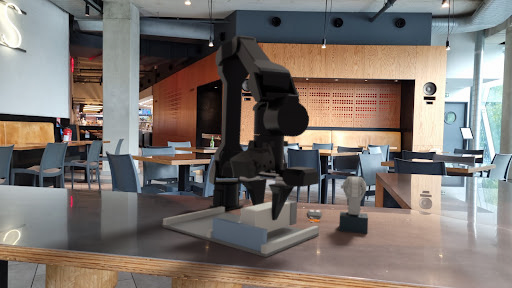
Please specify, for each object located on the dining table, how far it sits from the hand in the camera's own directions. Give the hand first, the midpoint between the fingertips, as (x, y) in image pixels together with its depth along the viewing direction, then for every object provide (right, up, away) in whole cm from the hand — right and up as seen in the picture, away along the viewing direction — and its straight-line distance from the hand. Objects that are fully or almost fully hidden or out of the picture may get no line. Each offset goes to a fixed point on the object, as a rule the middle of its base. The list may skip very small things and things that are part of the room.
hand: (266, 218), depth 71 cm
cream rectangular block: (0, -2, 0) cm, 2 cm away
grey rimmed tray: (-5, -3, +4) cm, 7 cm away
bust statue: (+18, -4, +7) cm, 20 cm away
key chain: (+11, -4, +16) cm, 20 cm away
